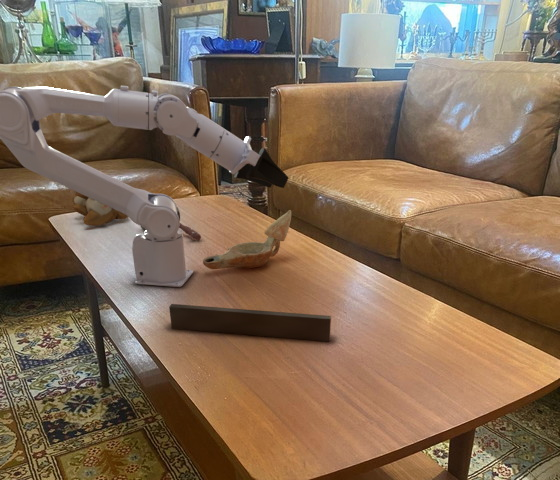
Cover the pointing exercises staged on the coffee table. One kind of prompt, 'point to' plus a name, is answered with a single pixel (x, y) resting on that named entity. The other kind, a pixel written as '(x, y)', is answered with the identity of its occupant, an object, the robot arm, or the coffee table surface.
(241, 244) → the oil lamp
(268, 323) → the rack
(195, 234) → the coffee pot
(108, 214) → the stuffed squirrel
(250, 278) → the coffee table surface
